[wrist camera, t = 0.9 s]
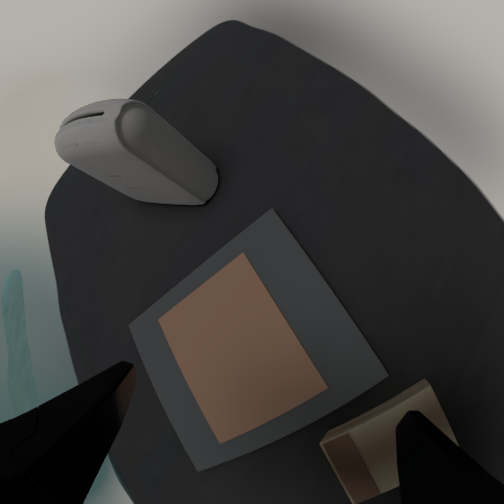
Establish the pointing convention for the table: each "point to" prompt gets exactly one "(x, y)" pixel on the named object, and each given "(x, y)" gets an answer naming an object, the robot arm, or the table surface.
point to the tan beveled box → (378, 442)
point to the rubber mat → (252, 347)
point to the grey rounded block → (136, 153)
